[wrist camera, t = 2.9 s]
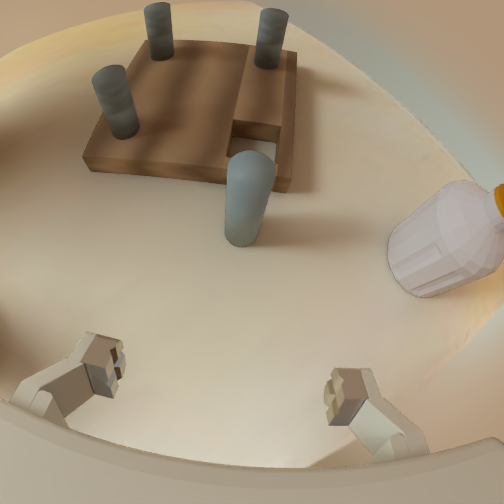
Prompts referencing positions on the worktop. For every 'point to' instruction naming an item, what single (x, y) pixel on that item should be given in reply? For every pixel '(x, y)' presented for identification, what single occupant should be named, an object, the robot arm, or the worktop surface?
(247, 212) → the stool leg
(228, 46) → the stool
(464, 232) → the white orange spray bottle
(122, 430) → the worktop surface
